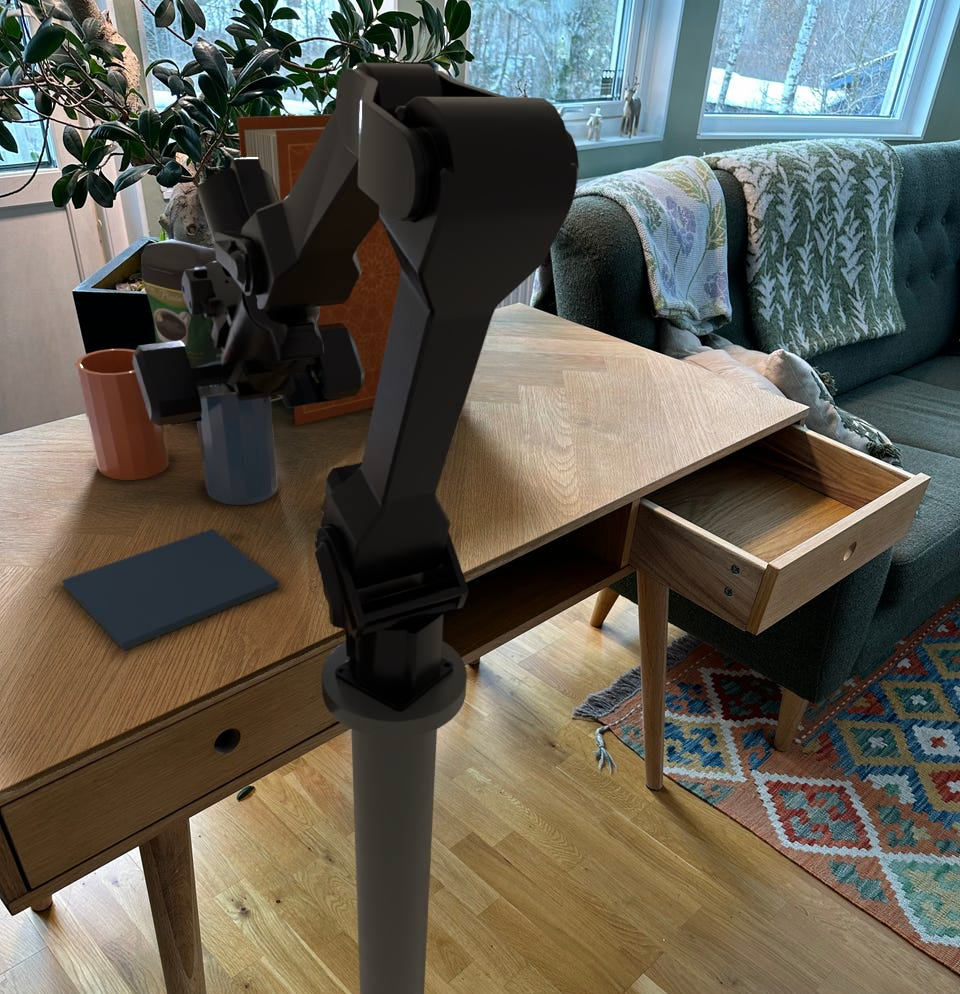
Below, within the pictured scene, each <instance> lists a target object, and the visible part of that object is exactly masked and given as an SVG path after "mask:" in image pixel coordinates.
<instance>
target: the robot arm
mask: <svg viewBox="0 0 960 994" xmlns="http://www.w3.org/2000/svg"><path fill="white" fill-rule="evenodd" d="M331 114H332V116H331V117H330V119H329V121H328V123H327V125H326V127H325V129H324V131H323V132H322V134H321V136H320V138H319V140H318V142H317V144H316V146H315V147H314V149H313V151H312V153H311V155H310V157H309V159H308V161H307V162H306V164H305V166H304V168H303V170H302V172H301V174H300V175H299V177H298V179H297V181H296V183H295V185H294V187H293V189H292V190H291V192H290V194H289V195H288V196H287V197H286V198H285V199H284V200H281V201H280V200H279V197H278V194H277V191H276V188H275V185H274V182H273V179H272V177H271V176H270V174H269V173H268V172H266V171H265V170H263V169H262V167H261V164H260V161H259V159H258V158H241V157H239V158H238V157H237V158H236V157H235V158H232V160H231V162H230V166H229V167H226V168H224V169H221V170H219V171H217V172H215V173H213V174H211V175H210V176H209V177H208V178H206V179H205V180H204V182H202V183H199V186H198V189H197V195H198V199H199V202H200V205H201V208H202V210H203V214H204V218H205V220H206V224H207V227H208V229H209V233H210V236H211V239H212V241H213V244H214V245H213V246H214V249H215V252H216V259H217V260H218V261H219V262H210V263H208V264H206V265H205V266H201V267H194V269H185V271H184V274H183V277H182V294H183V298H184V300H185V302H186V305H187V307H188V309H189V312H190V314H191V315H200V314H203V315H204V316H205V317H206V318H209V317H212V320H213V323H214V326H213V330H212V334H211V335H212V339H213V342H214V345H215V348H222V351H223V353H222V357H221V365H213V366H205V367H197V368H191V365H190V362H189V359H188V356H187V353H186V349H185V346H184V345H183V344H182V342H181V341H174V342H165V343H156V342H155V343H148V344H141V345H138V346H137V347H136V349H135V350H136V351H135V352H134V354H133V362H132V363H133V366H134V369H135V373H136V376H137V379H138V382H139V386H140V389H141V392H142V395H143V398H144V402H145V405H146V408H147V411H148V414H149V418H150V421H152V422H154V423H155V424H157V425H159V426H162V425H164V426H167V425H168V426H169V425H170V426H179V425H186V424H187V425H188V424H194V423H196V422H199V421H202V417H201V413H202V406H201V399H202V398H209V397H216V396H223V395H230V394H236V396H237V399H238V402H239V401H245V400H252V399H259V398H266V397H273V396H279V395H283V397H282V398H281V399H282V403H283V407H284V408H285V409H292V408H294V407H298V406H304V405H311V404H316V403H322V402H328V401H334V400H340V399H342V398H345V397H351V396H356V395H357V393H358V392H359V390H360V389H361V387H362V385H363V384H364V370H363V367H362V364H361V361H360V358H359V354H358V351H357V348H356V345H355V342H354V339H353V336H352V333H351V331H350V330H349V329H348V328H347V327H345V326H344V325H343V324H342V323H333V324H324V325H317V320H318V318H319V314H320V308H319V306H326V305H335V304H343V303H345V302H346V301H347V300H348V298H349V297H350V295H351V293H352V291H353V289H354V287H355V285H356V283H357V280H358V278H359V276H360V274H361V272H362V271H361V267H360V263H359V259H358V255H357V252H356V251H357V249H358V246H359V245H360V243H361V242H362V241H363V239H364V238H365V237H366V236H367V234H368V233H369V232H370V230H371V229H372V228H373V226H374V225H375V224H376V222H377V221H378V220H379V218H380V219H381V222H382V224H383V226H384V228H385V231H386V233H387V235H388V238H389V240H390V242H391V244H392V247H393V249H394V251H395V254H396V256H397V258H398V260H399V263H400V265H401V277H400V282H399V287H398V292H397V297H396V302H395V306H394V311H393V316H392V321H391V325H390V330H389V335H388V340H387V345H386V349H385V354H384V359H383V364H382V368H381V373H380V378H379V383H378V388H377V392H376V397H375V402H374V407H372V412H371V417H370V422H369V425H368V426H369V427H368V431H367V436H366V441H365V446H364V449H363V450H364V451H363V454H362V460H361V462H357V463H352V464H346V465H341V466H336V467H332V468H331V470H330V471H329V472H328V474H327V476H326V478H325V491H324V498H323V500H322V503H321V504H320V506H319V508H320V512H321V513H322V517H321V521H320V527H318V529H317V531H316V535H315V536H316V538H315V539H316V540H315V541H314V545H315V552H314V556H315V559H316V563H317V566H318V569H319V573H320V574H319V575H320V578H321V583H322V584H321V585H322V589H323V595H324V597H325V599H326V602H327V606H328V615H329V617H328V619H329V623H330V624H331V626H332V627H334V628H338V629H343V630H345V641H346V654H347V656H348V657H350V659H349V660H347V661H346V662H345V663H343V664H342V665H340V666H339V667H337V668H336V669H335V676H336V677H337V678H338V679H340V680H341V681H343V682H345V683H347V684H349V685H350V686H352V687H354V688H356V689H357V690H359V691H361V692H363V693H364V694H366V695H368V696H370V697H372V698H373V699H375V700H377V701H379V702H380V703H382V704H384V705H386V706H388V707H389V708H391V709H393V710H395V711H397V712H402V711H404V710H406V709H407V708H408V707H409V706H411V705H412V704H413V703H414V702H416V701H417V700H418V699H419V698H421V697H422V696H423V695H424V694H425V693H427V692H428V691H429V690H430V689H432V688H433V687H434V686H435V685H437V684H438V683H439V682H440V681H442V680H443V679H444V678H445V677H446V676H448V675H449V674H450V673H451V672H452V671H453V663H452V662H450V661H448V660H446V659H444V658H442V657H441V656H442V641H443V633H444V632H443V631H444V615H445V614H444V612H447V611H450V610H453V609H455V610H459V609H461V608H464V605H465V603H466V600H467V597H468V595H469V587H468V584H467V581H466V578H465V575H464V573H463V569H462V566H461V564H460V560H459V558H458V555H457V552H456V548H455V545H454V543H453V540H452V537H451V535H450V527H451V521H450V519H449V516H448V514H447V513H446V510H445V508H444V507H443V506H442V503H441V502H440V500H439V498H438V496H437V493H438V492H437V491H438V487H439V484H440V481H441V479H442V475H443V472H444V469H445V466H446V463H447V459H448V456H449V453H450V450H451V447H452V444H453V440H454V438H455V435H456V433H457V428H458V425H459V423H460V419H461V416H462V413H463V411H464V410H463V409H464V407H465V404H466V401H467V397H468V394H469V391H470V388H471V384H472V381H473V378H474V375H475V373H476V369H477V366H478V363H479V360H480V357H481V353H482V350H483V347H484V344H485V341H486V338H487V335H488V332H489V329H490V326H491V323H492V319H493V316H494V314H495V311H496V309H497V307H498V306H499V305H500V304H501V303H502V302H503V301H504V300H506V298H508V296H510V295H511V294H512V293H513V292H514V291H515V290H517V288H518V287H519V286H520V285H521V284H523V283H524V282H525V281H526V280H527V279H528V278H529V277H531V275H532V274H533V273H534V272H536V271H537V269H539V268H540V267H541V266H542V265H543V263H544V262H545V259H546V258H547V256H548V254H549V252H550V250H551V248H552V246H553V244H554V242H555V240H556V238H557V236H558V235H559V233H560V231H561V229H562V227H563V225H564V223H565V221H566V219H567V217H568V215H569V213H570V210H571V208H572V205H573V203H574V199H575V196H576V191H577V188H578V187H577V186H578V180H579V179H578V178H579V168H580V163H579V155H578V148H577V145H576V144H575V140H574V138H573V135H572V134H571V133H570V132H569V131H568V130H567V128H566V125H565V121H564V120H563V117H562V116H561V115H560V113H559V111H558V109H557V107H556V106H555V105H553V104H552V103H551V102H550V101H549V100H547V99H546V98H544V97H533V96H531V97H528V96H527V97H524V96H523V97H522V96H516V97H515V96H507V95H503V94H500V93H497V92H493V91H490V90H487V89H484V88H480V87H478V86H474V85H471V84H467V83H465V82H462V81H459V80H457V79H455V78H453V77H452V76H450V75H449V74H447V73H446V72H445V71H442V70H437V69H434V68H433V67H432V66H431V65H430V64H429V63H401V62H400V63H399V62H397V63H394V62H357V63H356V64H355V66H353V68H345V69H344V70H343V71H342V72H341V73H340V75H339V78H338V81H337V84H336V93H335V108H334V110H333V112H332V113H331ZM224 383H225V385H224ZM228 383H229V384H230V385H229V384H228ZM219 384H221V386H220V385H219ZM210 385H212V386H211V387H210ZM215 385H216V387H215ZM205 386H207V388H206V387H205ZM201 387H202V389H201Z"/></svg>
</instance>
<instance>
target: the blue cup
mask: <svg viewBox="0 0 960 994" xmlns="http://www.w3.org/2000/svg"><path fill="white" fill-rule="evenodd" d="M213 365H221V361H216V362H210V363H207V364H204V365H200V366H198V367H205V366H213ZM228 384H229V383H228ZM219 385H220V386H221V384H219ZM224 385H225V383H224ZM229 385H230V384H229ZM211 386H212V385H210V387H211ZM205 387H206V388H207V386H205ZM215 387H216V385H215ZM201 389H202V387H201ZM201 406H202V413H201V417H202V421H199V422H197V423H196V426H197V434H198V435H197V436H198V441H199V449H200V456H201V462H202V470H203V477H204V484H205V489H206V492H207V495H208V496H209V497H210V499H213V501H216V502H219V503H222V504H226V505H231V506H247V505H255V504H259V503H261V502H262V503H263V502H264V501H266V500H268V499H271V498H272V497H273V496H274V495H275V494H276V493H277V491H278V487H279V486H278V471H277V457H276V446H275V435H274V423H273V412H272V411H273V410H272V400H271V397H266V398H259V399H252V400H245V401H239V402H238V399H237V396H236V394H230V395H223V396H216V397H209V398H202V399H201Z"/></svg>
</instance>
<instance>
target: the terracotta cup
mask: <svg viewBox="0 0 960 994" xmlns="http://www.w3.org/2000/svg"><path fill="white" fill-rule="evenodd" d="M135 351H136V349H129V348H108V349H100V350H96V351H92V352H88V353H86V354H84V355H82V356H80V357H78V358H77V359H76V361H75V363H74V366H75V371H76V377H77V381H78V385H79V390H80V394H81V398H82V402H83V408H84V412H85V417H86V422H87V426H88V429H89V431H88V432H89V435H90V440H91V444H92V449H93V453H94V459H95V462H96V465H97V469H98V471H99V472H100V474H101V475H103V476H105V477H107V478H110V479H114V480H119V481H135V480H136V481H138V480H144V479H148V478H150V477H155V476H158V475H159V474H160V473H162V472H164V471H165V470H166V469H167V468H168V467H169V464H170V459H169V456H170V455H169V450H168V443H167V438H166V430H165V425H162V426H159V425H157V424H155V423H154V422H152V421H150V418H149V414H148V411H147V408H146V405H145V402H144V398H143V395H142V392H141V389H140V386H139V382H138V379H137V376H136V373H135V369H134V366H133V363H132V362H133V354H134V352H135Z"/></svg>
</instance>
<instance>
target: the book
mask: <svg viewBox="0 0 960 994" xmlns="http://www.w3.org/2000/svg"><path fill="white" fill-rule="evenodd" d="M332 114H333V113H330V114H301V115H300V114H299V115H268V116H265V115H264V116H239V117H238V116H237V118H236V119H237V130H238V142H239V152H240V158H258V159H259V161H260V164H261V167H262V169H263V170H265V171H266V172H268V173H269V174H270V176H271V177H272V179H273V182H274V185H275V188H276V191H277V194H278V197H279V200H280V201H281V200H284V199H285V198H286V197H287V196H288V195H289V194H290V192H291V190H292V189H293V187H294V185H295V183H296V181H297V179H298V177H299V175H300V174H301V172H302V170H303V168H304V166H305V164H306V162H307V161H308V159H309V157H310V155H311V153H312V151H313V149H314V147H315V146H316V144H317V142H318V140H319V138H320V136H321V134H322V132H323V131H324V129H325V127H326V125H327V123H328V121H329V119H330V117H331V116H332ZM356 252H357V255H358V259H359V263H360V267H361V271H362V272H361V274H360V276H359V278H358V280H357V283H356V285H355V287H354V289H353V291H352V293H351V295H350V297H349V298H348V300H347V301H346V302H345V303H343V304H335V305H326V306H319V308H320V314H319V318H318V320H317V325H324V324H333V323H342V324H343V325H344V326H345V327H347V328H348V329H349V330H350V331H351V333H352V336H353V339H354V342H355V345H356V348H357V351H358V354H359V358H360V361H361V364H362V367H363V370H364V384H363V385H362V387H361V389H360V390H359V392H358V393H357V395H356V396H351V397H345V398H342V399H340V400H334V401H328V402H322V403H316V404H311V405H304V406H298V407H293V414H294V415H293V416H294V425H295V426H301V425H305V424H309V423H313V422H317V421H321V420H325V419H329V418H333V417H338V416H342V415H346V414H350V413H355V412H358V411H364V410H368V409H371V408H373V407H374V402H375V397H376V392H377V388H378V383H379V378H380V373H381V368H382V364H383V359H384V354H385V349H386V345H387V340H388V335H389V330H390V325H391V321H392V316H393V311H394V306H395V302H396V297H397V292H398V287H399V282H400V277H401V265H400V263H399V260H398V258H397V256H396V254H395V251H394V249H393V247H392V244H391V242H390V240H389V238H388V235H387V233H386V231H385V228H384V226H383V224H382V222H381V219H380V218H379V220H378V221H377V222H376V224H375V225H374V226H373V228H372V229H371V230H370V232H369V233H368V234H367V236H366V237H365V238H364V239H363V241H362V242H361V243H360V245H359V246H358V249H357V251H356ZM282 397H283V395H279V396H273V397H271V401H273V400H278V399H282Z"/></svg>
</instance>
